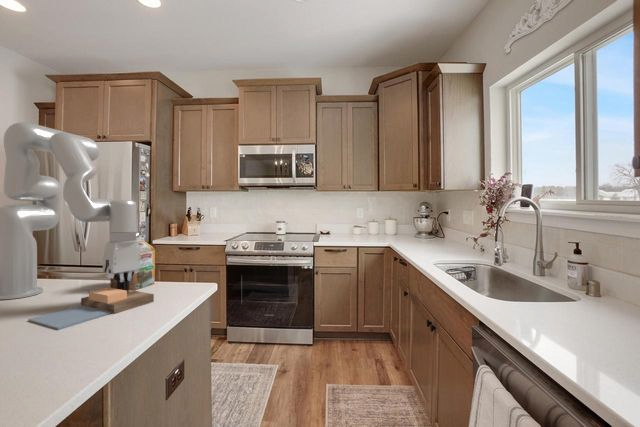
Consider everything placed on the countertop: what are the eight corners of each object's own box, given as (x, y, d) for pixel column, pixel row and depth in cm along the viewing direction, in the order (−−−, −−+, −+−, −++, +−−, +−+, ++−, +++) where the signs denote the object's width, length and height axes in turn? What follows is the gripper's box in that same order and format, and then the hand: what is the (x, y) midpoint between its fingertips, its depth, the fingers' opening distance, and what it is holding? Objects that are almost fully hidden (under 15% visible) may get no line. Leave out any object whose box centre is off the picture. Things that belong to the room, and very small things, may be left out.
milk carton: (134, 290, 114) (134, 240, 114) (110, 288, 116) (110, 239, 116) (154, 284, 124) (155, 237, 124) (132, 282, 126) (132, 236, 126)
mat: (28, 321, 83) (28, 319, 83) (82, 306, 95) (82, 305, 95) (58, 329, 78) (58, 327, 78) (111, 313, 90) (111, 311, 90)
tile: (88, 299, 95) (88, 291, 94) (108, 294, 100) (108, 287, 100) (107, 303, 91) (107, 295, 91) (127, 298, 97) (127, 290, 97)
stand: (81, 306, 96) (81, 298, 96) (121, 295, 108) (121, 288, 108) (114, 313, 90) (114, 305, 90) (153, 301, 102) (153, 294, 102)
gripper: (136, 235, 108) (136, 286, 108) (91, 238, 94) (91, 297, 94) (151, 236, 105) (151, 288, 105) (107, 240, 91) (107, 300, 92)
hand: (123, 292), depth 100 cm, fingers closed
